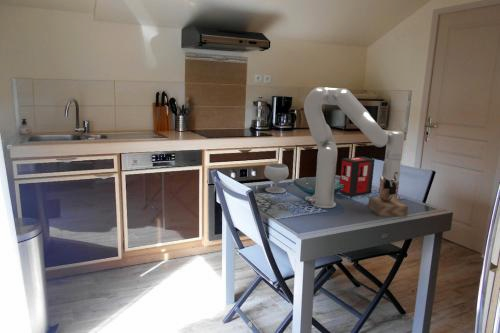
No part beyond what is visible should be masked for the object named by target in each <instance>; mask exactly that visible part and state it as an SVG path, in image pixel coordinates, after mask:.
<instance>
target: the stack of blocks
mask: <svg viewBox="0 0 500 333" xmlns="http://www.w3.org/2000/svg"><path fill="white" fill-rule="evenodd" d="M392 180H395V179H392ZM393 182H394V181H392V183H393ZM389 183H390V182H389ZM399 185H400V182H399V183H398V184H397V187H396V194H393V196H392V197H396V198H397V199H398V193H399ZM390 186H391V185H390ZM383 187H384V177H383V176H382V175H381V176H379V188H378V192H379V193H380V192H381V190H382V189H383Z"/></svg>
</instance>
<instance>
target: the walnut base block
mask: <svg viewBox="0 0 500 333" xmlns="http://www.w3.org/2000/svg"><path fill="white" fill-rule="evenodd" d="M367 205H368V208H369V209H371V210H372V211H373V212H374V213H375V214H376V215H377V216H378V217H404V216H403V215H407V216H408V211H409V205H407V204H406V203H404V202H403V201H402V200H400V199H399V198H398V197H397V198H396V197H392V199H391V200H389V201H382V200H381V199H380V197H379V196H378V197H377V196H370V197H369V198H368V204H367Z"/></svg>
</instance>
